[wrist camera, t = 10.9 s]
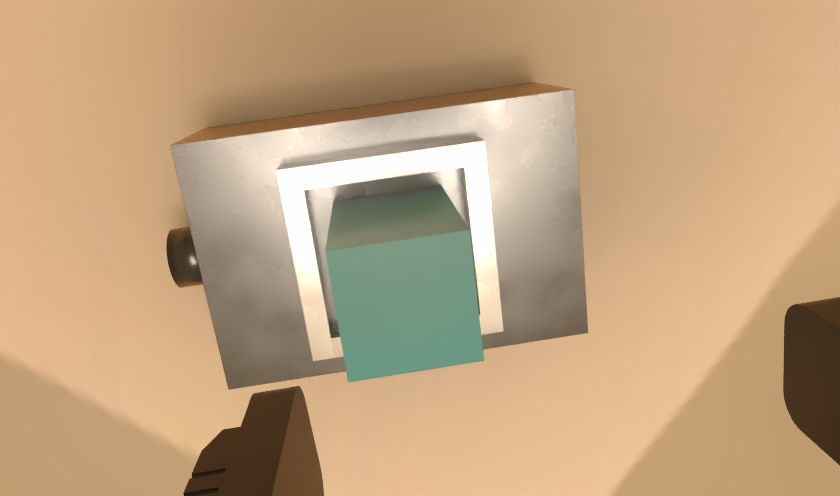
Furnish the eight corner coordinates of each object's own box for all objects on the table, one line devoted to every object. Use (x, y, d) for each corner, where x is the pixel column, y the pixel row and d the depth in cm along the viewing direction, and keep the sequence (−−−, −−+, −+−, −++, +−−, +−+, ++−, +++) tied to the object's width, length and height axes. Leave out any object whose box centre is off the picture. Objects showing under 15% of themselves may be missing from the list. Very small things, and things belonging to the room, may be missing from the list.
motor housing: (534, 82, 36) (584, 91, 28) (549, 285, 40) (598, 345, 32) (168, 133, 35) (111, 157, 27) (216, 336, 39) (179, 411, 31)
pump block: (441, 185, 30) (469, 229, 23) (453, 286, 32) (484, 360, 24) (333, 201, 30) (324, 251, 22) (350, 302, 32) (348, 381, 24)
